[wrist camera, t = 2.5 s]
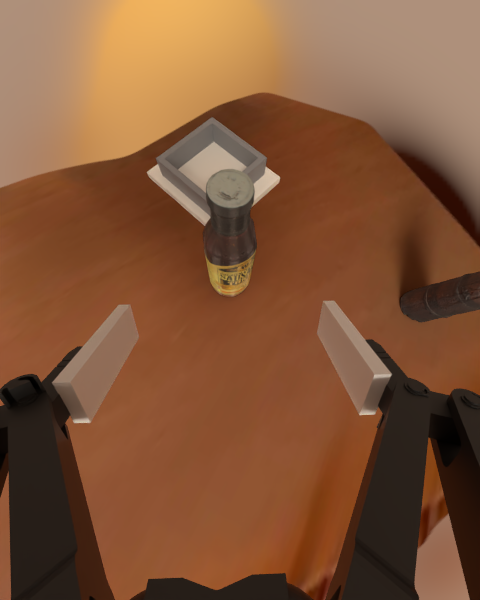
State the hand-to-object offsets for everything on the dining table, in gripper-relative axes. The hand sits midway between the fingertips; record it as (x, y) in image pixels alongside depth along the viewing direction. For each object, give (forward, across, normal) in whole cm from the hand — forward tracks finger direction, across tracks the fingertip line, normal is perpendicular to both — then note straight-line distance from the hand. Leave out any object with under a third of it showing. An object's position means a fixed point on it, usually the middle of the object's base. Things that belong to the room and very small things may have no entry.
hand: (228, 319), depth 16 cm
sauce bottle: (+21, 0, -6) cm, 22 cm away
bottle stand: (+35, -3, +8) cm, 36 cm away
